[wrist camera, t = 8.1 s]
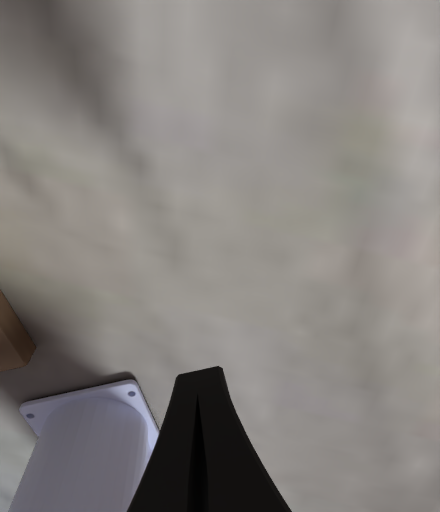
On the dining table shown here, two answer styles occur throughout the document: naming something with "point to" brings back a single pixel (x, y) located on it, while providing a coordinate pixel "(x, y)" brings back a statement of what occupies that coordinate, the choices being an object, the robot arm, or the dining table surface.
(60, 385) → the dining table surface
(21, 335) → the notched board
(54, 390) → the dining table surface
